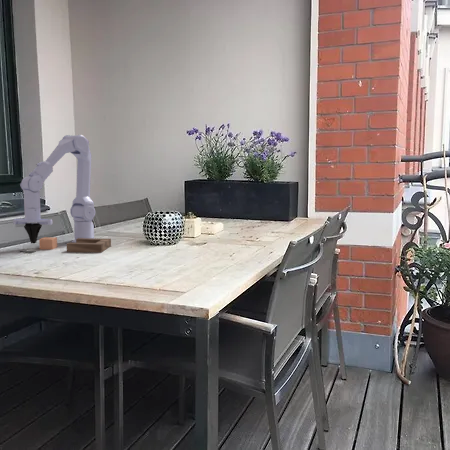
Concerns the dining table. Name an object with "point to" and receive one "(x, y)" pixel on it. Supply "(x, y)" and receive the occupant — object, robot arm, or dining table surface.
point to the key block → (48, 243)
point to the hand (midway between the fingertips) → (33, 243)
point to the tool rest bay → (89, 245)
